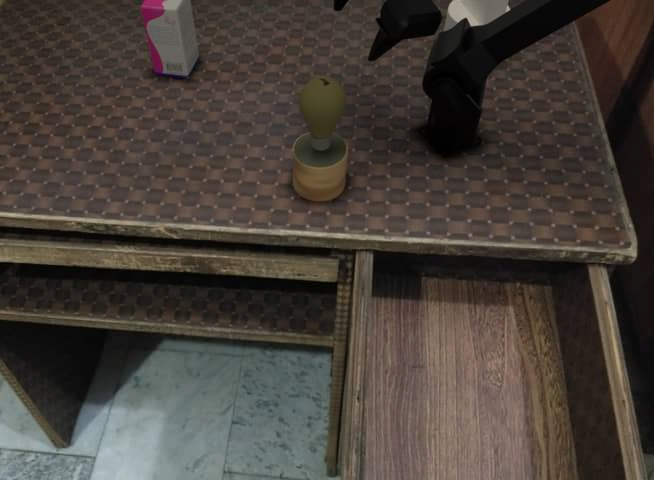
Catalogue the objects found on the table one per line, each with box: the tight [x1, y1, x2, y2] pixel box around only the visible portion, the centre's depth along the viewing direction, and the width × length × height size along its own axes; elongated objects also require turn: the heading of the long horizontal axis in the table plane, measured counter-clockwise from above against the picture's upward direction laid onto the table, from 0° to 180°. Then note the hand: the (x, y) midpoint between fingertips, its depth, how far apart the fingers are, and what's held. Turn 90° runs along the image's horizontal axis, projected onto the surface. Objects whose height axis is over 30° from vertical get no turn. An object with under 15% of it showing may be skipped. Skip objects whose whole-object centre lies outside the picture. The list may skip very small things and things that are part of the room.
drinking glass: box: [443, 0, 511, 31], centre depth 94 cm, size 9×9×12 cm
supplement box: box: [140, 0, 200, 80], centre depth 96 cm, size 6×6×12 cm
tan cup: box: [291, 131, 349, 202], centre depth 82 cm, size 7×7×6 cm
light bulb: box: [298, 75, 348, 151], centre depth 76 cm, size 6×6×10 cm
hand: (354, 34), depth 80 cm, fingers open, 9 cm apart
